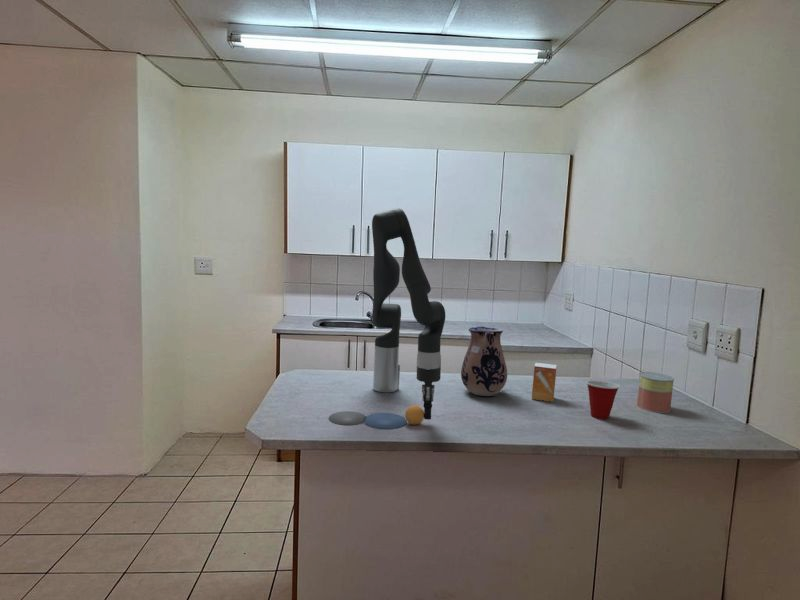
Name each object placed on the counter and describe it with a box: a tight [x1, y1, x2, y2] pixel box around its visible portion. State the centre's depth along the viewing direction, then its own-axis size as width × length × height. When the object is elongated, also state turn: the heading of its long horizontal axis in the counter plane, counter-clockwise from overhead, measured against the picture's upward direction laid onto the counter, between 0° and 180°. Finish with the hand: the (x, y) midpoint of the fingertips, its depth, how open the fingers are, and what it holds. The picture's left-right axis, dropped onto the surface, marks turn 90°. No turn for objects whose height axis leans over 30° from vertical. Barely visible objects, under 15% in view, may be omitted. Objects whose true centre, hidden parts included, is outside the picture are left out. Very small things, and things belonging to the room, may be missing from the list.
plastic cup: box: [586, 380, 621, 420], centre depth 178 cm, size 11×11×12 cm
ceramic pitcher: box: [460, 325, 508, 397], centre depth 200 cm, size 18×21×25 cm
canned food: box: [636, 371, 675, 414], centre depth 190 cm, size 11×11×12 cm
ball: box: [404, 405, 425, 426], centre depth 163 cm, size 6×6×6 cm
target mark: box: [363, 412, 408, 430], centre depth 165 cm, size 14×14×1 cm
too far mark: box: [328, 410, 367, 426], centre depth 166 cm, size 12×12×1 cm
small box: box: [531, 362, 558, 403], centre depth 195 cm, size 8×6×13 cm
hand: (427, 418), depth 163 cm, fingers closed
